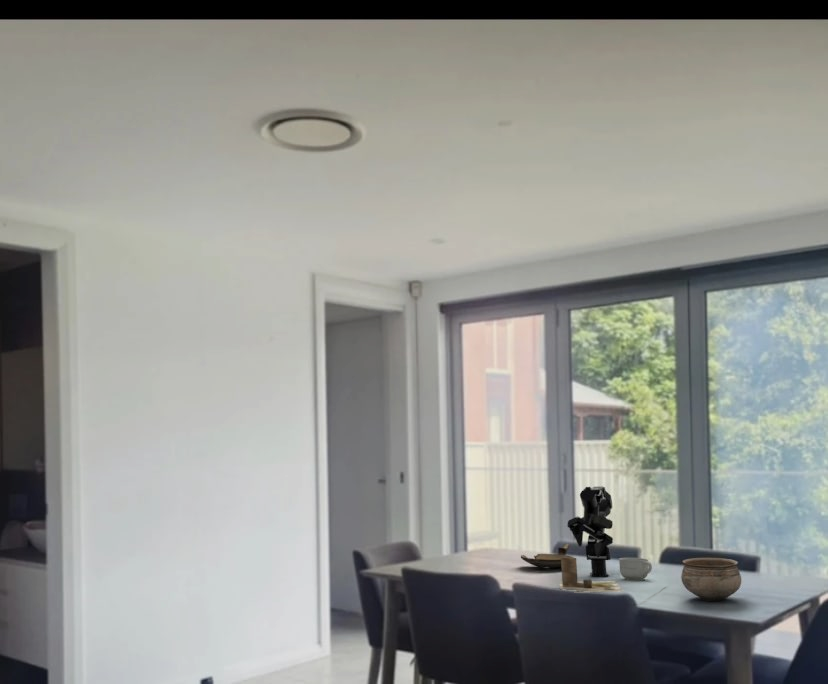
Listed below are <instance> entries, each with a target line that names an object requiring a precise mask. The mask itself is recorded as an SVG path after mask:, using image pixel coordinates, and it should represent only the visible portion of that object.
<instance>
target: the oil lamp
mask: <svg viewBox="0 0 828 684" xmlns="http://www.w3.org/2000/svg"><path fill="white" fill-rule="evenodd" d="M569 548H570V544H569V543H566V544H565V545H564V546H563V547H561V546H560V547H558V548H557V549H558V550H557V551H558V552H557V553H537V555H533V558H530V557H527V556H526V555H524V554H522V555H520V558H521V559H522V560H523V561H524V562H526V563H527V564H530V565H532V566H534V567H538V568H547V569H556V568H558V569H559V568H562V567H561V558H562V557H565V558H575V557H574V556H572V555H567V552H568V551H569Z"/></svg>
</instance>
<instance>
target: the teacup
mask: <svg viewBox="0 0 828 684" xmlns="http://www.w3.org/2000/svg"><path fill="white" fill-rule="evenodd" d="M618 561H619V563H618V564H619V573H620V575H621V576H622V577H623V578H624V580H626V581H643V580H645V579H646V578H647V577H648V575H649V573H651V572H652V569H653V566H652V563H651V561H649V559H648V558H641V557H620V558H618Z"/></svg>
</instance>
